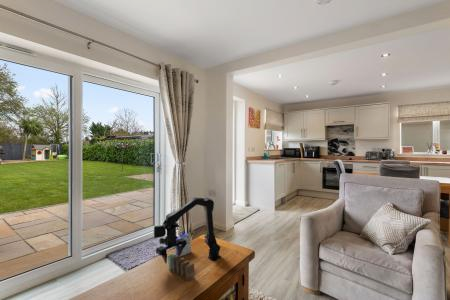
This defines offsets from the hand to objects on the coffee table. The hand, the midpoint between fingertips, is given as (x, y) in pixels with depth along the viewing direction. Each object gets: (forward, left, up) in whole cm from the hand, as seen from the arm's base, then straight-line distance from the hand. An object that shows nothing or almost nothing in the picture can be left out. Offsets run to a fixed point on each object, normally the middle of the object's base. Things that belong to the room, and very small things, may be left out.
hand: (172, 260), depth 132 cm
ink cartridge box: (-15, -10, -5) cm, 19 cm away
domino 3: (0, +9, -5) cm, 10 cm away
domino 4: (0, +13, -5) cm, 14 cm away
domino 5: (0, +18, -5) cm, 18 cm away
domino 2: (0, +4, -5) cm, 6 cm away
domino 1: (0, 0, -5) cm, 5 cm away
